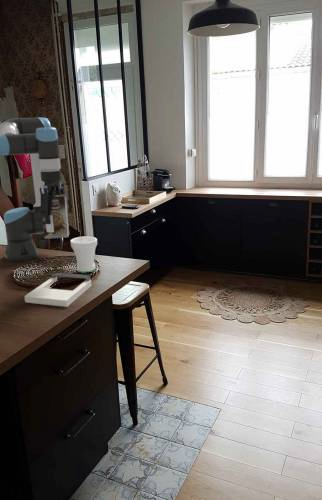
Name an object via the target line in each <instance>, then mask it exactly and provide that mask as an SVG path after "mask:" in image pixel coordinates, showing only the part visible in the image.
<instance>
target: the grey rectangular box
mask: <svg viewBox="0 0 322 500" xmlns="http://www.w3.org/2000/svg"><path fill="white" fill-rule="evenodd" d="M66 200H67V194H66V193H65V194H61V195H54V197H53V198H52V209H51V215H52V216H53V226H54V232H47V229H46V222H45V215H42V216H43V226H44V233H43V234H44V239H59V238H60V239H61V238H65V239H66V238H69V235H70V228H69V227H70V226H69V218H68V207H67V205H68V201H67V202H66Z"/></svg>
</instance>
